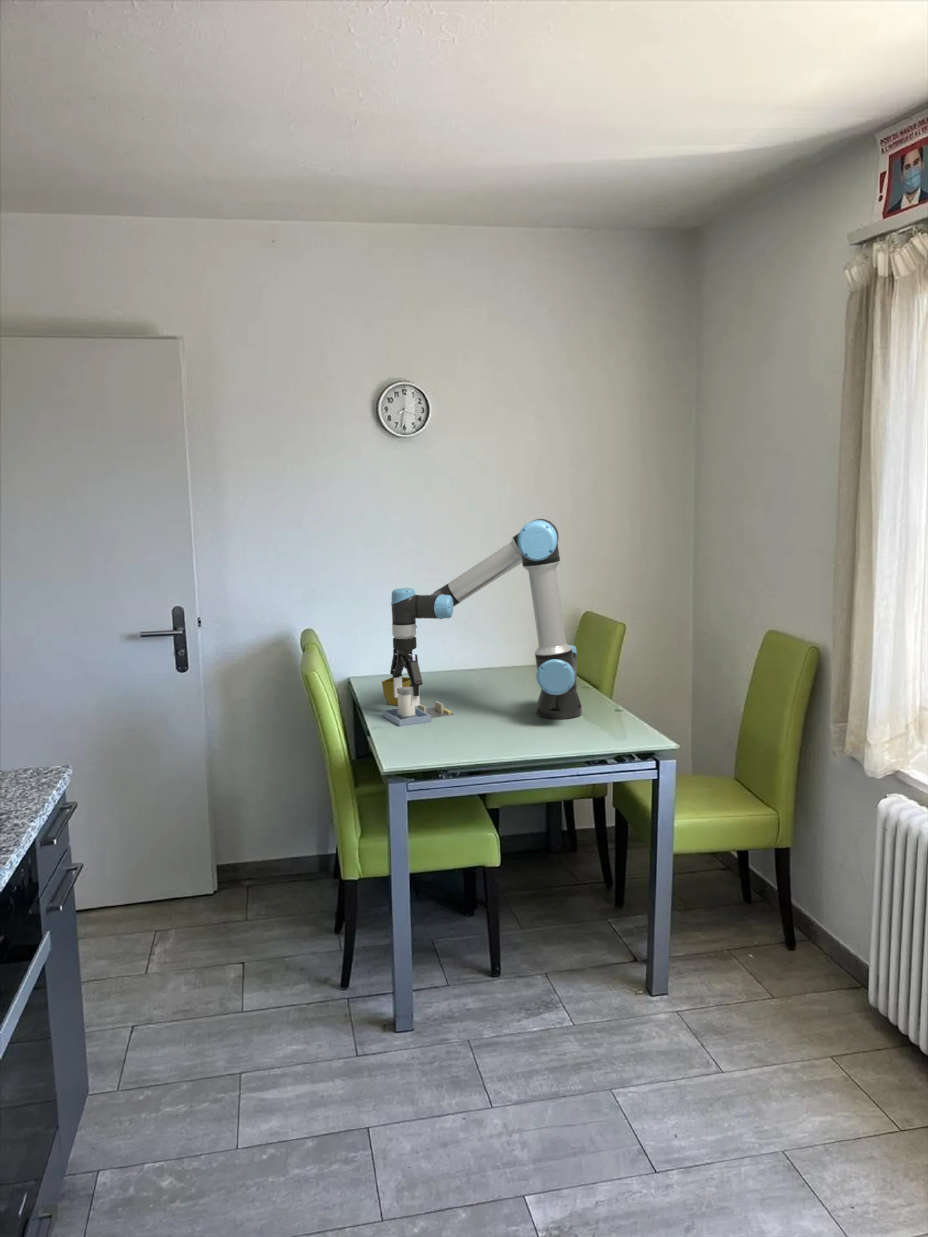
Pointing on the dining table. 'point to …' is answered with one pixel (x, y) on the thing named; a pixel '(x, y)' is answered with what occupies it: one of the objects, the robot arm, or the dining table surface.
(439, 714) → the block
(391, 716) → the tray
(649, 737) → the dining table surface
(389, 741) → the dining table surface
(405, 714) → the block
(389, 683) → the flower pot
